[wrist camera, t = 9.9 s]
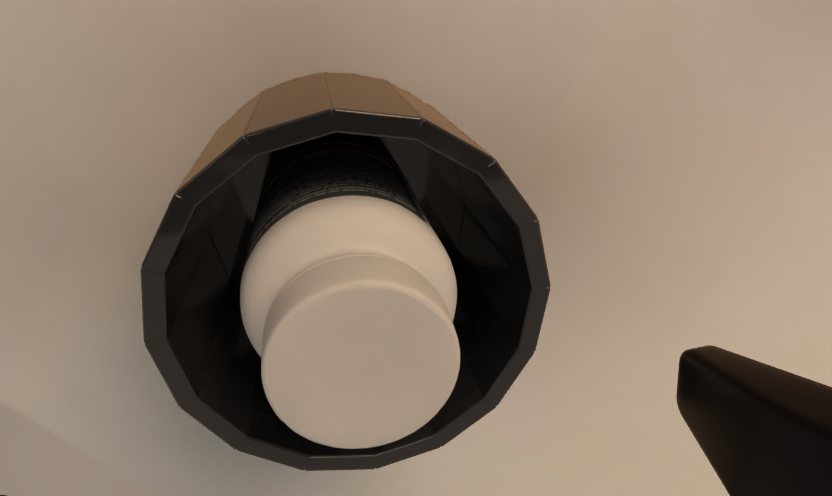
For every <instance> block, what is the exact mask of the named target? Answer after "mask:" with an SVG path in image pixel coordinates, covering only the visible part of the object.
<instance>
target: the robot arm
mask: <svg viewBox="0 0 832 496" xmlns="http://www.w3.org/2000/svg"><path fill="white" fill-rule="evenodd" d="M677 404H678V408H679V410H680V413H681V415H682V417H683V418H684V420H685V422H686V423H687V425H688V427H689V428H690V430H691V432H692V433H693V435H694V437H695V438H696V440H697V442H698V443H699V445H700V447H701V448H702V450H703V452H704V453H705V455H706V457H707V458H708V460H709V462H710V463H711V465H712V466H713V468H714V470H715V471H716V473H717V475H718V476H719V478H720V480H721V481H722V483H723V485H724V486H725V488H726V490H727V491H728V493H729V495H730V496H832V387H829V386H827V385H824V384H821V383H818V382H815V381H812V380H809V379H807V378H804V377H801V376H798V375H795V374H792V373H790V372H787V371H784V370H781V369H778V368H775V367H772V366H770V365H767V364H764V363H761V362H758V361H755V360H753V359H750V358H747V357H744V356H741V355H738V354H735V353H733V352H730V351H727V350H724V349H721V348H718V347H715V346H703V347H698V348H693V349H689V350H686V351H684V352H683V353H682V355H681V357H680V361H679V372H678V385H677ZM0 496H6V495H0Z"/></svg>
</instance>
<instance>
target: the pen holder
mask: <svg viewBox="0 0 832 496" xmlns="http://www.w3.org/2000/svg"><path fill="white" fill-rule="evenodd" d="M330 141H346V142H353V143H358V144H362V145H365V146H367V147H370V148H372V149H374V150H376V151H378V152H380V153H381V154H383V155H384V156H386V157H387V158H388V159H389V160H391V161H392V162H393V163H394V164H395V165H396V166H397V167H398V168H399V170H400V171H401V172H402V173H403V175H404V176H405V178H406V179H407V181H408V182H409V184H410V186H411V188H412V190H413V192H414V195H415V197H416V199H417V201H418V203H419V205H420V207H421V209H422V211H423V212H424V214H425V216H426V218H427V220H428V222H429V223H430V225H431V227H432V228H433V230H434V232H435V233H436V235H437V236H438V238H439V240H440V241H441V243H442V245H443V246H444V248H445V250H446V252H447V254H448V256H449V258H450V260H451V263H452V266H453V269H454V273H455V277H456V284H457V303H456V309H455V315H454V319H453V325H454V328H455V331H456V334H457V337H458V341H459V347H460V369H459V373H458V377H457V381H456V383H455V386H454V388H453V391H452V393H451V395H450V396H449V398H448V400H447V401H446V403H445V404H444V406H443V407H442V408H441V409H440V410H439V411H438V413H437V414H436V415H435V416H434V417H433V418H432V419H431V420H430V421H429V422H427V423H426V424H425V425H424V426H422V427H421V428H419V429H418V430H416V431H415V432H413V433H411V434H409V435H407V436H405V437H403V438H401V439H399V440H397V441H394V442H391V443H388V444H385V445H381V446H377V447H370V448H358V449H346V448H335V447H331V446H327V445H323V444H319V443H316V442H313V441H311V440H308V439H307V438H305V437H303V436H301V435H299V434H297V433H296V432H294V431H293V430H292V429H290V428H289V427H288V426H287V425H286V424H285V423H284V422H283V421H281V420H280V418H279V417H278V416H277V415H276V413H275V412H274V410H273V408H272V407H271V405H270V404H269V401H268V399H267V397H266V395H265V391H264V388H263V384H262V378H261V357H260V356H259V354H258V353H257V351H256V350H255V348H254V347H253V345H252V344H251V342H250V340H249V337H248V335H247V333H246V331H245V328H244V325H243V320H242V316H241V308H240V286H241V277H242V273H243V267H244V263H245V259H246V254H247V249H248V245H249V240H250V236H251V232H252V227H253V222H254V218H255V214H256V209H257V204H258V201H259V197H260V194H261V191H262V189H263V187H264V185H265V183H266V181H267V179H268V178H269V176H270V175H271V174H272V172H273V171H274V170H275V169H276V168H277V167H278V166H279V164H281V163H282V162H283V161H284V160H285V159H286V158H288V157H289V156H291V155H292V154H294V153H295V152H297V151H299V150H301V149H303V148H306V147H308V146H311V145H314V144H318V143H323V142H330ZM141 290H142V312H143V334H144V342H145V346H146V348H147V350H148V351H149V353H150V355H151V357H152V359H153V360H154V362H155V364H156V366H157V368H158V369H159V371H160V373H161V375H162V377H163V378H164V380H165V382H166V384H167V386H168V387H169V389H170V391H171V393H172V395H173V396H174V398H175V400H176V402H177V404H178V405H179V406H180V407H181V409H183V410H184V411H185V412H187V413H188V414H189V415H191V416H192V417H193V418H194V419H196V420H197V421H198V422H200V423H201V424H202V425H204V426H205V427H206V428H208V429H209V430H210V431H212V432H213V433H214V434H216V435H217V436H218V437H219V438H221V439H222V440H223V441H225V442H226V443H227V444H229V445H230V446H231V447H233V448H234V449H237V450H238V451H240V452H244V453H247V454H250V455H254V456H257V457H260V458H264V459H267V460H270V461H274V462H277V463H280V464H283V465H287V466H290V467H293V468H297V469H300V470H304V469H305V470H306V471H318V470H361V469H374V468H380V467H383V466H386V465H389V464H392V463H395V462H398V461H401V460H404V459H407V458H410V457H413V456H416V455H419V454H422V453H425V452H428V451H431V450H434V449H437V448H439V447H440V446H444V445H445V444H446V443H448V442H449V441H450V440H452V439H453V438H455V437H456V436H457V435H459V434H460V433H461V432H463V431H464V430H466V429H467V428H468V427H470V426H471V425H472V424H474V423H475V422H477V421H478V420H479V419H481V418H482V417H483V416H485V415H486V414H488V413H489V412H490V411H492V410H493V409H494V408H495V407H496V406H497V405H498V404H499V402H500V401H501V400H502V398H503V397H504V395H505V394H506V392H507V391H508V390H509V388H510V387H511V385H512V384H513V382H514V381H515V380H516V378H517V377H518V375H519V374H520V372H521V371H522V370H523V368H524V367H525V365H526V364H527V362H528V361H529V360H530V358H531V357H532V355H533V354H534V351H535V349H536V345H537V341H538V337H539V333H540V329H541V325H542V321H543V316H544V312H545V308H546V304H547V300H548V296H549V292H550V280H549V275H548V269H547V264H546V258H545V253H544V247H543V242H542V236H541V231H540V225H539V221H538V219H537V216H536V215H535V213H534V212H533V210H532V209H531V208H530V206H529V205H528V203H527V202H526V201H525V199H524V198H523V197H522V195H521V194H520V192H519V191H518V190H517V188H516V187H515V185H514V184H513V183H512V181H511V180H510V178H509V177H508V176H507V174H506V173H505V171H504V170H503V169H502V167H501V166H500V165H499V163H498V162H497V160H496V159H494V158H493V157H492V156H491V155H490V154H489V153H488V152H486V151H485V150H484V149H483V148H482V147H480V146H479V145H478V144H477V143H476V142H474V141H473V140H472V139H471V138H470V137H468V136H467V135H466V134H465V133H464V132H462V131H461V130H460V129H459V128H458V127H457V126H455V125H454V124H453V123H452V122H451V121H449V120H448V119H447V118H446V117H445V116H443V115H442V114H441V113H440V112H439V111H437V110H436V109H435V108H434V107H432V106H430V105H429V104H427V103H425V102H423V101H422V100H420V99H418V98H416V97H415V96H414V95H412V94H411V93H409V92H407V91H405V90H403V89H401V88H399V87H397V86H396V85H394V84H392V83H390V82H389V81H387V80H384V79H378V78H373V77H368V76H362V75H357V74H348V73H328V72H325V73H319V74H313V75H309V76H304V77H300V78H295V79H292V80H289V81H287V82H284V83H281V84H279V85H276V86H274V87H271V88H268V89H265V90H264V91H262V92H260V93H259V94H258V95H257V96H256V97H255V98H253V99H252V100H251V101H249V102H248V103H246V104H245V105H244V106H242V107H241V108H240V109H239V110H238V111H237V112H236V113H235V114H234V115H233V116H232V117H231V118H230V119H229V120H228V121H226V122H225V123H224V124H223V125H222V126H220V127H219V128H218V130H217V131H216V132H215V134H214V135H213V137H212V138H211V140H210V141H209V143H208V144H207V146H206V147H205V149H204V150H203V152H202V153H201V155H200V156H199V158H198V159H197V161H196V162H195V164H194V165H193V167H192V168H191V170H190V171H189V173H188V174H187V176H186V177H185V178H184V180H183V181H182V183H181V184H180V186H179V187H178V189H177V190H176V192H175V193H174V195H173V197H172V199H171V201H170V204H169V206H168V208H167V210H166V212H165V215H164V217H163V219H162V221H161V223H160V226H159V228H158V230H157V232H156V234H155V237H154V239H153V241H152V243H151V245H150V248H149V250H148V252H147V254H146V256H145V259H144V261H143V263H142V268H141Z"/></svg>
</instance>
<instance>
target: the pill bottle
mask: <svg viewBox="0 0 832 496" xmlns="http://www.w3.org/2000/svg"><path fill="white" fill-rule="evenodd" d="M456 303H457V284H456V277H455V273H454V269H453V266H452V263H451V260H450V258H449V256H448V254H447V252H446V250H445V248H444V246H443V245H442V243H441V241H440V240H439V238H438V236H437V235H436V233H435V232H434V230H433V228H432V227H431V225H430V223H429V222H428V220H427V218H426V216H425V214H424V212H423V211H422V209H421V207H420V205H419V203H418V201H417V199H416V197H415V195H414V192H413V190H412V188H411V186H410V184H409V182H408V181H407V179H406V178H405V176H404V175H403V173H402V172H401V171H400V170H399V168H398V167H397V166H396V165H395V164H394V163H393V162H392V161H391V160H389V159H388V158H387V157H386V156H384V155H383V154H381V153H380V152H378V151H376V150H374V149H372V148H370V147H367V146H365V145H362V144H358V143H353V142H346V141H330V142H323V143H318V144H314V145H311V146H308V147H306V148H303V149H301V150H299V151H297V152H295V153H294V154H292V155H291V156H289V157H288V158H286V159H285V160H284V161H283V162H282V163H281V164H279V166H278V167H277V168H276V169H275V170H274V171H273V172H272V174H271V175H270V176H269V178H268V179H267V181H266V183H265V185H264V187H263V189H262V191H261V194H260V197H259V201H258V204H257V209H256V214H255V218H254V222H253V227H252V232H251V236H250V240H249V245H248V249H247V254H246V259H245V263H244V267H243V273H242V277H241V286H240V308H241V316H242V320H243V325H244V328H245V331H246V333H247V335H248V337H249V340H250V342H251V344H252V345H253V347H254V348H255V350H256V351H257V353H258V354H259V356H260V357H261V378H262V384H263V388H264V391H265V395H266V397H267V399H268V401H269V404H270V405H271V407H272V408H273V410H274V412H275V413H276V415H277V416H278V417H279V418H280V420H281V421H283V422H284V423H285V424H286V425H287V426H288V427H289V428H290V429H292V430H293V431H294V432H296V433H297V434H299V435H301V436H303V437H305V438H307V439H308V440H311V441H313V442H316V443H319V444H323V445H327V446H331V447H335V448H346V449H358V448H370V447H377V446H381V445H385V444H388V443H391V442H394V441H397V440H399V439H401V438H403V437H405V436H407V435H409V434H411V433H413V432H415V431H416V430H418V429H419V428H421V427H422V426H424V425H425V424H426V423H427V422H429V421H430V420H431V419H432V418H433V417H434V416H435V415H436V414H437V413H438V411H439V410H440V409H441V408H442V407H443V406H444V404H445V403H446V401H447V400H448V398H449V396H450V395H451V393H452V391H453V388H454V386H455V383H456V381H457V377H458V373H459V369H460V347H459V341H458V337H457V334H456V331H455V328H454V325H453V319H454V315H455V309H456Z"/></svg>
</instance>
